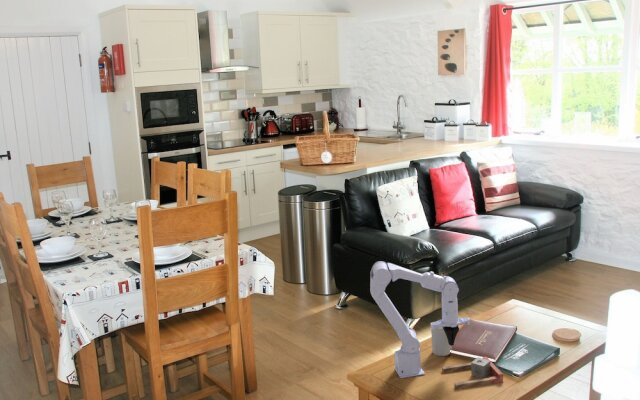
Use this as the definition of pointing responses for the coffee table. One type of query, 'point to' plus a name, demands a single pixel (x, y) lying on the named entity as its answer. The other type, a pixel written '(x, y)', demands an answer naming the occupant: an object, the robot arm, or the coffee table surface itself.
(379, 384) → the coffee table surface
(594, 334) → the coffee table surface
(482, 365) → the dice cube
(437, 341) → the can
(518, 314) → the coffee table surface
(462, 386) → the guide channel
